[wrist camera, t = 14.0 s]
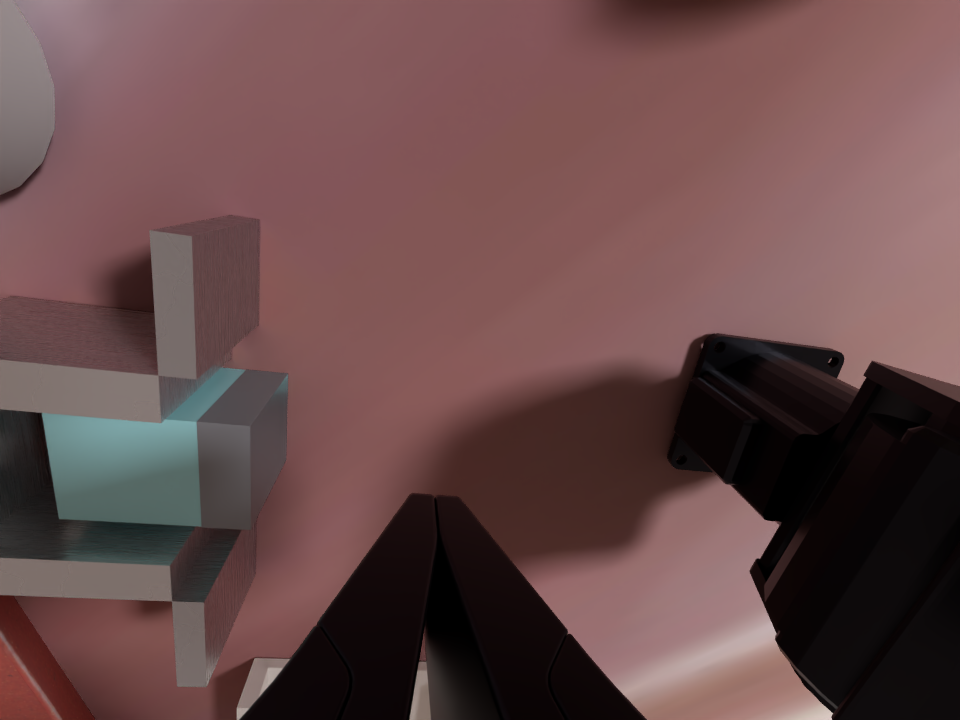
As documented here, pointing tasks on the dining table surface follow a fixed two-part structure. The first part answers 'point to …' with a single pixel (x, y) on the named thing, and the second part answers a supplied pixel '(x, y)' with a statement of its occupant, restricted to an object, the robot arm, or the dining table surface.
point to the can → (22, 99)
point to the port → (135, 397)
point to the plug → (176, 457)
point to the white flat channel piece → (270, 667)
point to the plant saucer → (32, 673)
